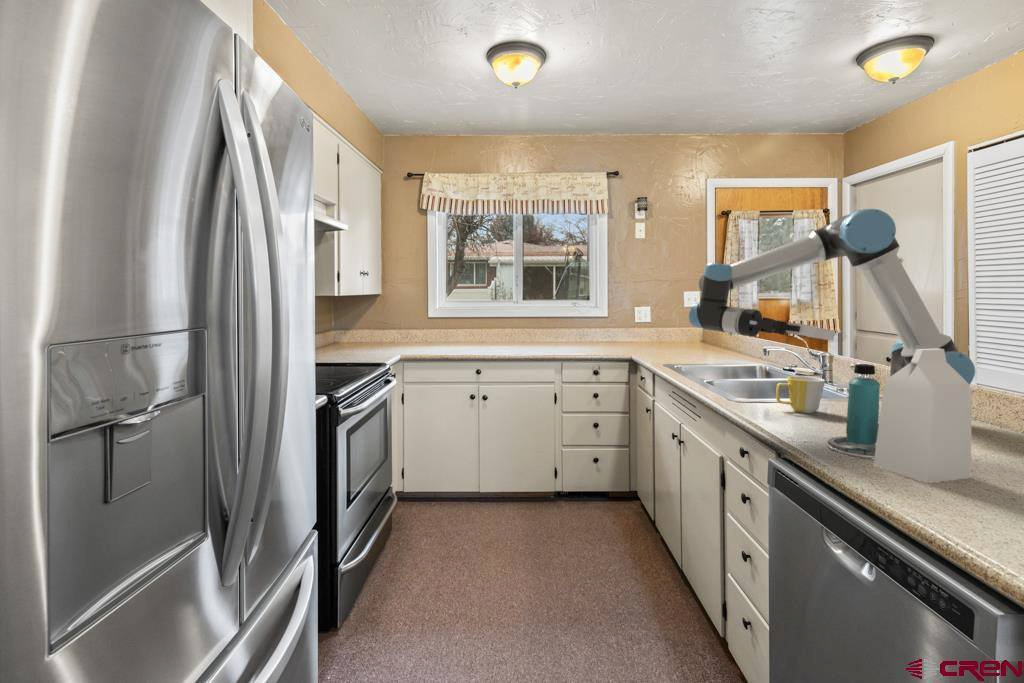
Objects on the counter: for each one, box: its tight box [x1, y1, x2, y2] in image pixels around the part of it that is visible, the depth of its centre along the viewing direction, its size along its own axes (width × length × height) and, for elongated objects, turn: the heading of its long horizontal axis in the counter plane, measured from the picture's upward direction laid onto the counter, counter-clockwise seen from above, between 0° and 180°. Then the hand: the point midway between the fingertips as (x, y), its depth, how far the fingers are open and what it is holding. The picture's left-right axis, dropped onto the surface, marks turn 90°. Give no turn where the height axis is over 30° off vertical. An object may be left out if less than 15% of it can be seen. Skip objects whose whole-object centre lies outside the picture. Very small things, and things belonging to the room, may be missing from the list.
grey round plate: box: [826, 436, 876, 459], centre depth 129 cm, size 14×14×1 cm
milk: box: [873, 348, 973, 484], centre depth 113 cm, size 12×12×26 cm
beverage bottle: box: [845, 363, 881, 445], centre depth 128 cm, size 6×7×20 cm
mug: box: [775, 375, 826, 414], centre depth 170 cm, size 14×10×10 cm
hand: (824, 333), depth 137 cm, fingers open, 13 cm apart
